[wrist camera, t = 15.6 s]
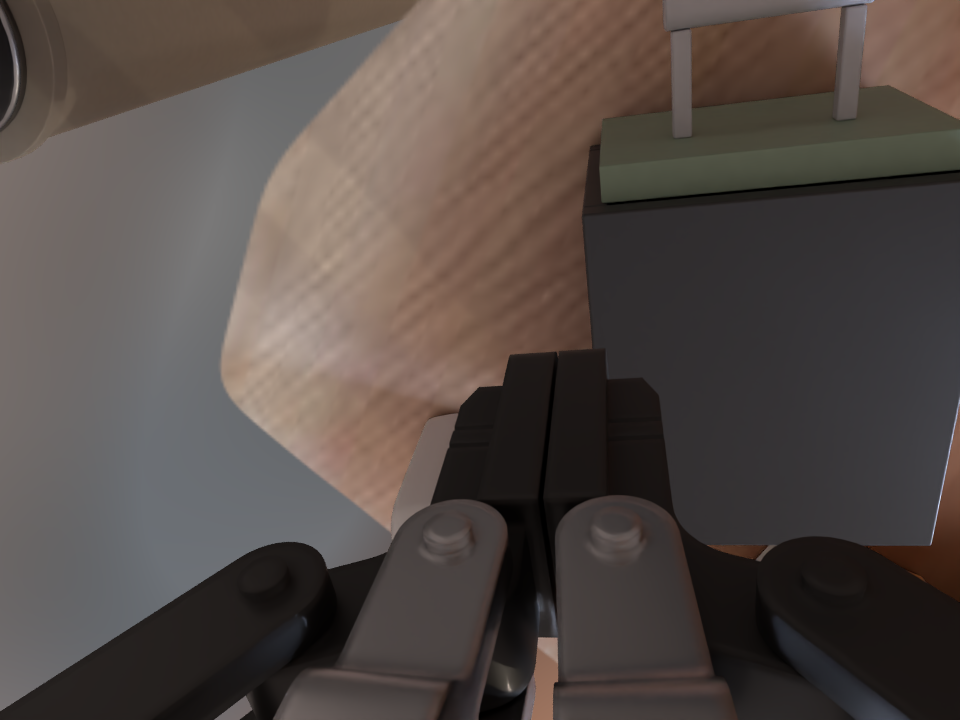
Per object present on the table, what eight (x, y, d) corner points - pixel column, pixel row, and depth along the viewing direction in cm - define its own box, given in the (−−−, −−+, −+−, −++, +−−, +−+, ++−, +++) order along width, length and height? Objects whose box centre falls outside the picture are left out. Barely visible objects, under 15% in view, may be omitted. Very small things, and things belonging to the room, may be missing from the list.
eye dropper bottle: (414, 481, 40) (347, 663, 30) (430, 401, 38) (362, 571, 27) (489, 501, 40) (447, 691, 30) (511, 422, 37) (473, 601, 27)
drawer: (594, -14, 26) (587, -2, 20) (906, -63, 24) (1010, -67, 18) (619, 387, 34) (620, 484, 28) (855, 377, 32) (913, 481, 26)
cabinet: (589, 145, 30) (581, 215, 22) (895, 111, 28) (1006, 176, 20) (609, 417, 36) (608, 545, 29) (858, 409, 34) (931, 546, 26)
